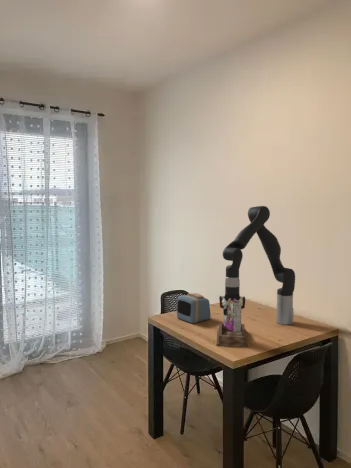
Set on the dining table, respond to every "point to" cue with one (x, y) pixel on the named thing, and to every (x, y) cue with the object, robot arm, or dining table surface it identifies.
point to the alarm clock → (193, 308)
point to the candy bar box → (233, 316)
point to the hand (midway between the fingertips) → (232, 315)
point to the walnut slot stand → (231, 337)
